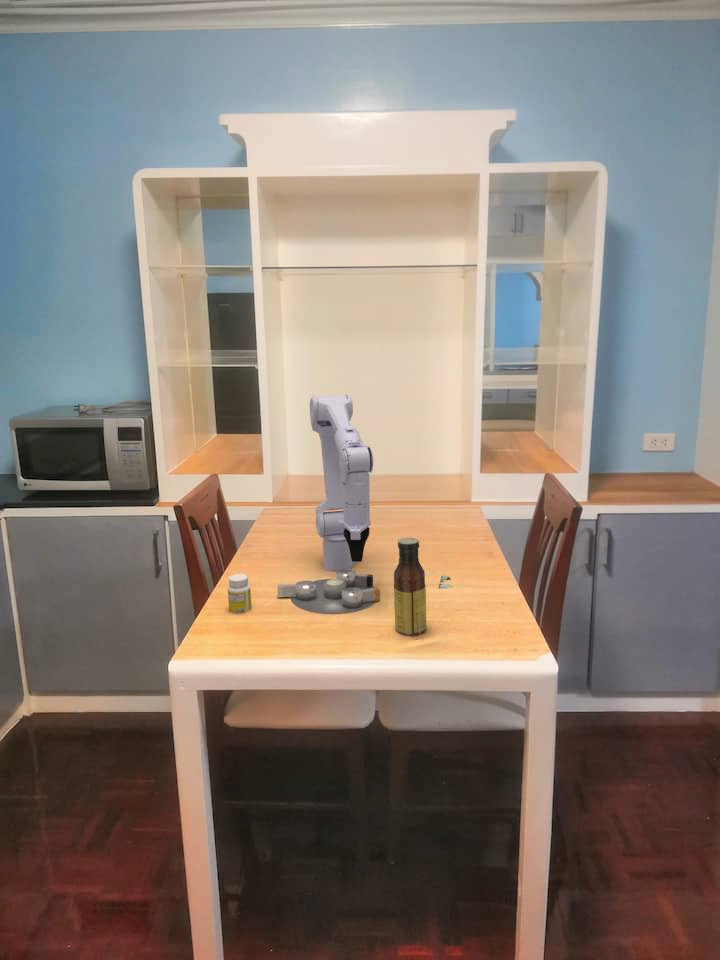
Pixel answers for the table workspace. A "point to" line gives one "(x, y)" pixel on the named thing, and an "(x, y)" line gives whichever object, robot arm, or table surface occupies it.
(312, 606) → the tribrach plate
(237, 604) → the supplement bottle
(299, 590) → the silver metal rounded piece
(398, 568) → the sauce bottle
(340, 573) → the knob black
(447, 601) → the table surface
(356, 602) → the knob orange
